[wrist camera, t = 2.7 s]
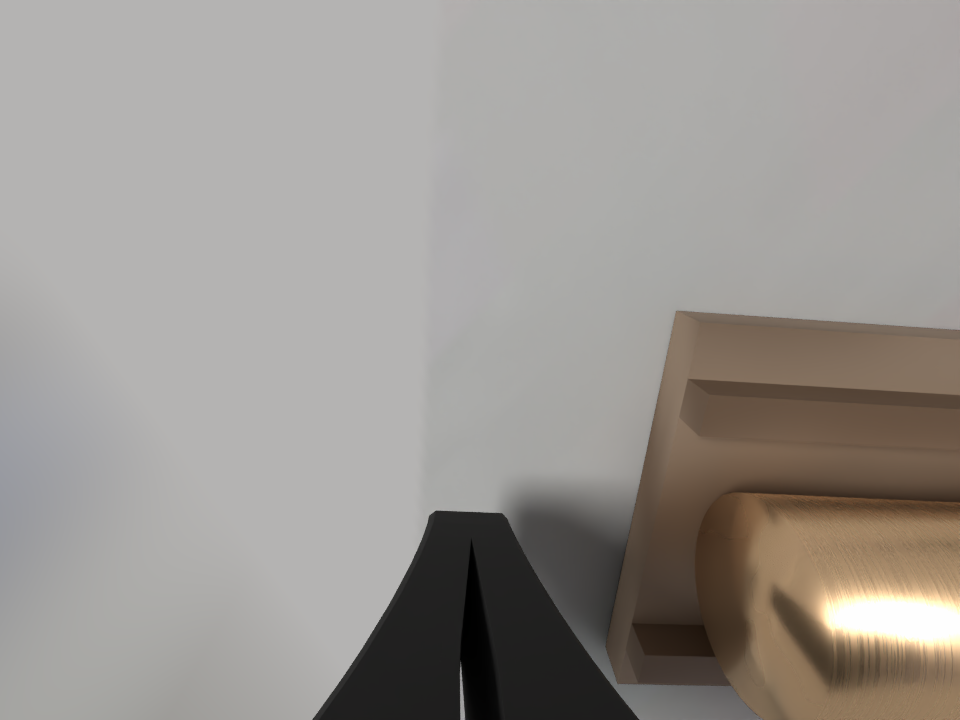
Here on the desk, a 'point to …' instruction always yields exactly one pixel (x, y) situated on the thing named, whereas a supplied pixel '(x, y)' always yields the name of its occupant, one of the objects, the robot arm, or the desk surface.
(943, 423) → the board
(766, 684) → the thermos bottle
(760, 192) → the desk surface
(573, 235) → the desk surface
